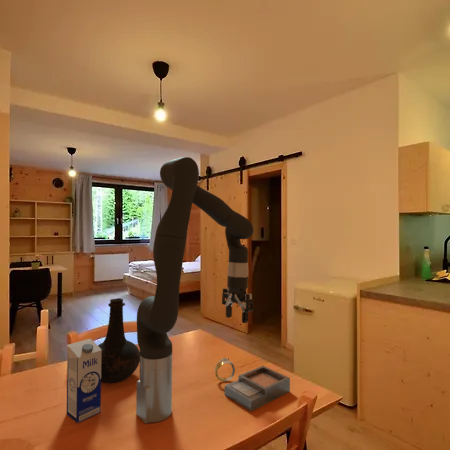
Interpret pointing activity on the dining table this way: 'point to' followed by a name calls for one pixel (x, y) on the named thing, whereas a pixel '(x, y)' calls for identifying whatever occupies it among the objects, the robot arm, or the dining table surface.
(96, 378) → the milk carton
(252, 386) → the grey tray
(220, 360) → the ring
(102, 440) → the dining table surface
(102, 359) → the glass bottle
